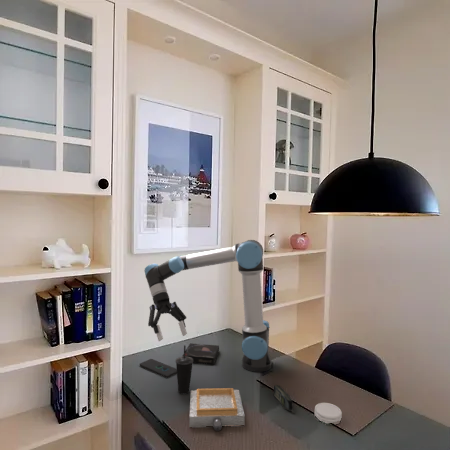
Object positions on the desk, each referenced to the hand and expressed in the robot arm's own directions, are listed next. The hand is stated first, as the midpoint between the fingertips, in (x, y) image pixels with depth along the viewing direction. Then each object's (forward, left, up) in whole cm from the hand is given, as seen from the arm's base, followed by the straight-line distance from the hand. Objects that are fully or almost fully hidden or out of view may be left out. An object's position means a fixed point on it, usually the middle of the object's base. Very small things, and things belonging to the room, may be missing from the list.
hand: (173, 337), depth 155 cm
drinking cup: (-5, +8, -21) cm, 23 cm away
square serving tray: (-18, +26, -21) cm, 38 cm away
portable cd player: (-13, -27, -21) cm, 37 cm away
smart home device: (+8, -13, -21) cm, 26 cm away
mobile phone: (-47, +19, -21) cm, 55 cm away
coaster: (-61, +29, -21) cm, 71 cm away
